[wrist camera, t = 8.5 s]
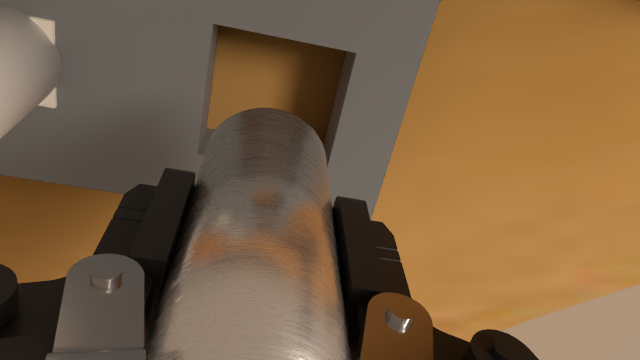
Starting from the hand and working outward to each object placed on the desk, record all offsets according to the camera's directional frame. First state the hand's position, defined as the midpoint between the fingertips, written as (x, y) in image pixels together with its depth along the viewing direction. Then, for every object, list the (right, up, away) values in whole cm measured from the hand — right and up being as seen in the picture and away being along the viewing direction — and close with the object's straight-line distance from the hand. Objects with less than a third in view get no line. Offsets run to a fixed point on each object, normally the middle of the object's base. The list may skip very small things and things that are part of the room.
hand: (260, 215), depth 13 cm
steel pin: (0, +1, +2) cm, 3 cm away
